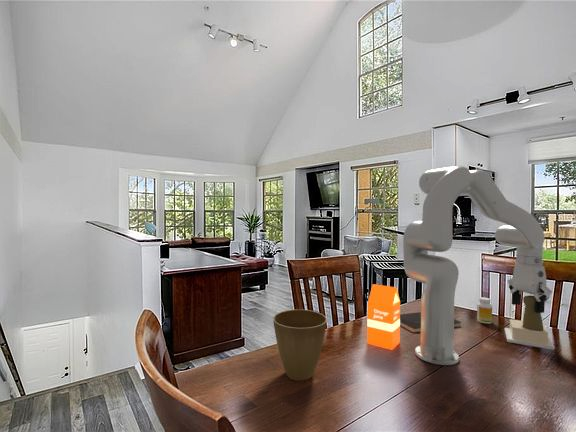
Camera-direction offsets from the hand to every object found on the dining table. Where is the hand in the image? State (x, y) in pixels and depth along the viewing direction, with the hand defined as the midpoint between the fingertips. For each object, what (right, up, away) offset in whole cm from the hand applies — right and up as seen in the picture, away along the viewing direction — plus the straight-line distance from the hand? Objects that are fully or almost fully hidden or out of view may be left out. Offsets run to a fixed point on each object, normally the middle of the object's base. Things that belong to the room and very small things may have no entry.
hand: (527, 308), depth 117 cm
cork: (0, -6, -2) cm, 7 cm away
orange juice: (-53, -11, -4) cm, 54 cm away
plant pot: (-83, -11, -26) cm, 87 cm away
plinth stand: (0, -11, 0) cm, 11 cm away
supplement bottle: (-4, -11, +19) cm, 22 cm away
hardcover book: (-30, -12, +17) cm, 36 cm away
